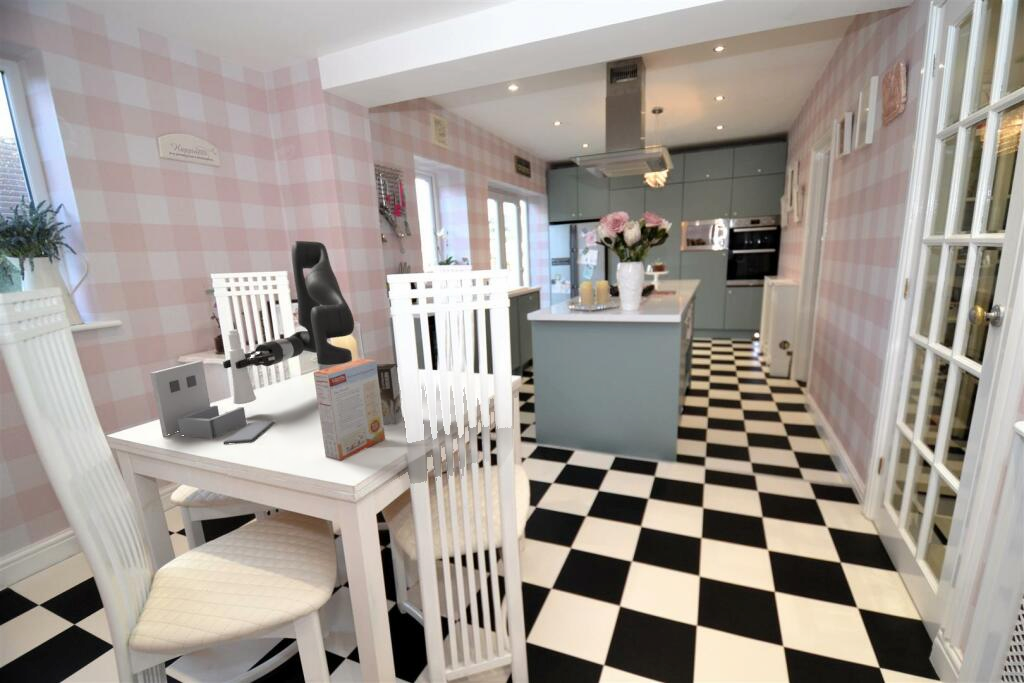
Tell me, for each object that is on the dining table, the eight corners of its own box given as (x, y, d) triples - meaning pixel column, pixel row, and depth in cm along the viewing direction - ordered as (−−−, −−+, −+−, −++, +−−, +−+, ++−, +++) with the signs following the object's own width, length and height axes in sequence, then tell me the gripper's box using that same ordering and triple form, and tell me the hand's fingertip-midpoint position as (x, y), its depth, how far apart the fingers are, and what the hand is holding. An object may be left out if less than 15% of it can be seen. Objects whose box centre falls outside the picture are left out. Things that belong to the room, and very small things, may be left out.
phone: (274, 424, 131) (274, 420, 131) (252, 444, 117) (251, 439, 117) (249, 426, 130) (249, 422, 130) (224, 446, 116) (223, 441, 116)
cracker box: (369, 435, 118) (361, 357, 114) (386, 439, 114) (378, 359, 111) (323, 457, 106) (312, 370, 102) (340, 461, 103) (329, 373, 99)
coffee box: (403, 416, 131) (398, 363, 128) (397, 424, 125) (391, 368, 122) (372, 417, 131) (366, 364, 128) (364, 425, 125) (358, 369, 122)
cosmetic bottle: (259, 396, 141) (248, 327, 136) (251, 403, 135) (239, 331, 131) (238, 398, 140) (226, 329, 136) (229, 404, 134) (216, 332, 130)
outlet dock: (252, 421, 133) (242, 361, 130) (209, 439, 120) (197, 374, 117) (208, 418, 138) (198, 360, 134) (162, 435, 124) (150, 372, 121)
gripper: (255, 340, 150) (209, 352, 134) (291, 341, 146) (247, 353, 130) (259, 362, 151) (213, 376, 135) (294, 363, 147) (252, 378, 131)
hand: (230, 365), depth 133 cm, fingers closed on cosmetic bottle, 4 cm apart
